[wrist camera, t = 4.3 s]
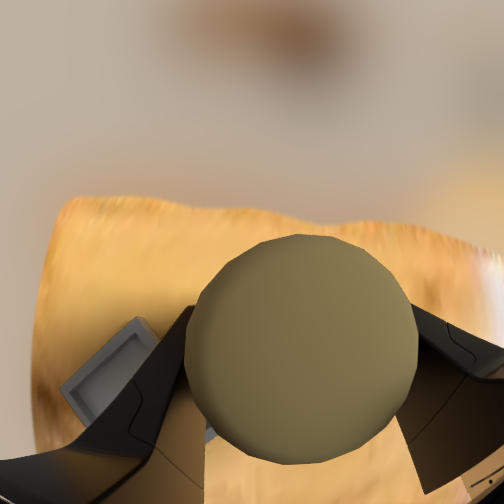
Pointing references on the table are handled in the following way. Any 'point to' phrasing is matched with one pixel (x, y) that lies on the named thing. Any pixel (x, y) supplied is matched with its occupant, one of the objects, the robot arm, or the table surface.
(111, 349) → the lower port socket
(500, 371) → the robot arm
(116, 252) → the table surface
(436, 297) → the table surface
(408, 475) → the table surface
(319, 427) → the cork
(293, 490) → the table surface
